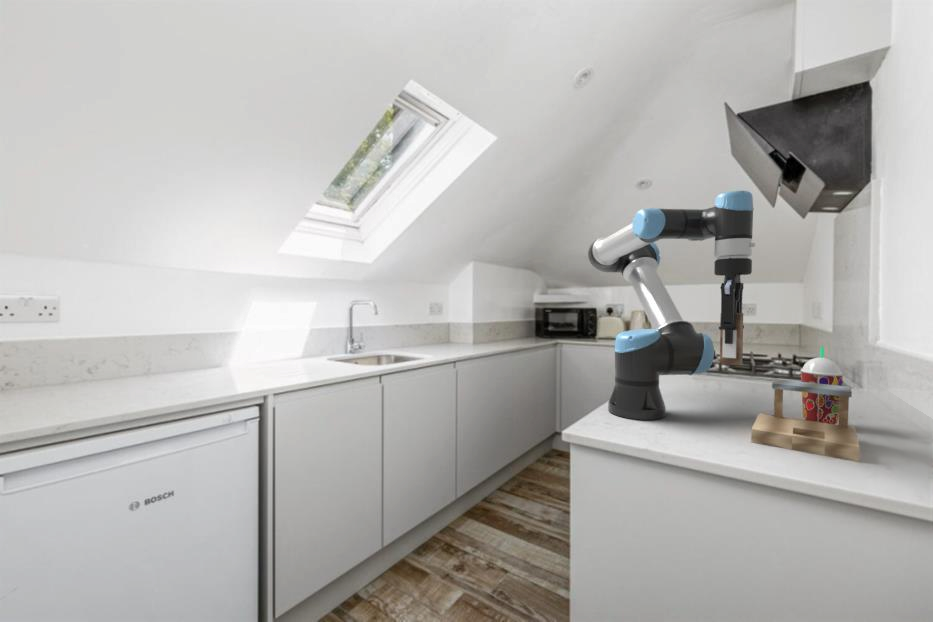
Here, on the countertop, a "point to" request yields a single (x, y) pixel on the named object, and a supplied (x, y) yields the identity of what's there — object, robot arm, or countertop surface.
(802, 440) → the socket board
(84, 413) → the countertop surface
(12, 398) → the countertop surface
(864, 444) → the countertop surface
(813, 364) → the smoothie
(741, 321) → the peg
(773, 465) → the countertop surface
